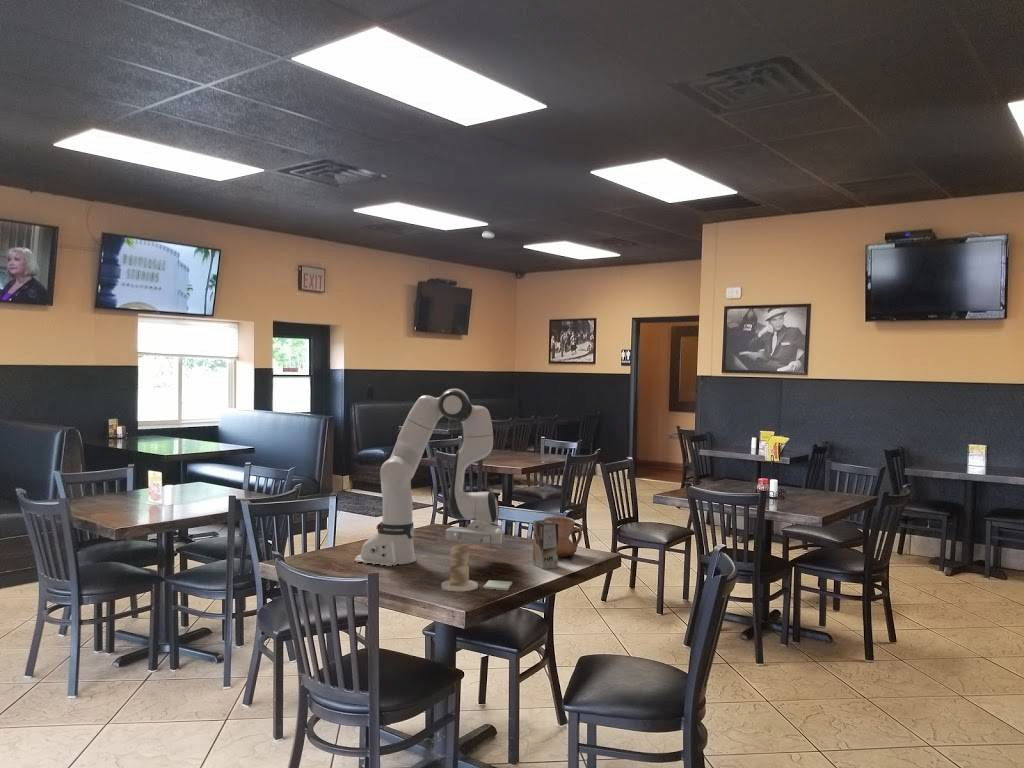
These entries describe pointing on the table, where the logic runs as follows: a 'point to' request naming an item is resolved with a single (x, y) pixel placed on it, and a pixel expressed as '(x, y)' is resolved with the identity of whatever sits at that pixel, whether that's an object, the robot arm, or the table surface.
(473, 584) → the cream saucer
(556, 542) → the coffee box
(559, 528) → the ceramic jug
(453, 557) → the maple block
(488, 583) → the sage coaster
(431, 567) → the table surface
